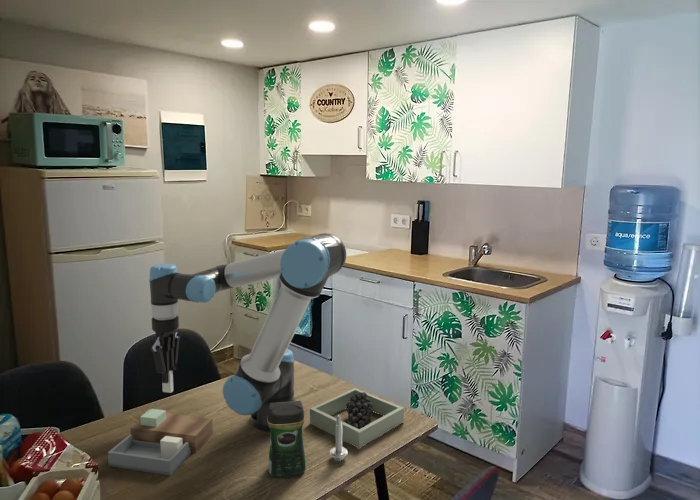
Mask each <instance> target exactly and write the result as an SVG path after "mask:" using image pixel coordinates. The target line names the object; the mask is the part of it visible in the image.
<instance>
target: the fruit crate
mask: <svg viewBox="0 0 700 500" xmlns="http://www.w3.org/2000/svg"><path fill="white" fill-rule="evenodd" d="M359 392H360V393H362V392H365V393H366V394H367V397H368V398H369V399H370V402H371V403H372V404H373V406H372V409H373V411H374V412H376V413H379V414H381V415H384V416H381V415H380V416H381V417H379V418H377V419H375V420H374V421H372V422H370V423H368V424H366V425H364V427H360V429H357V428H355V427H353V426H351V425H349V423H348V422H347V423H346V422H345V421H343V420H341V423H342V441H343V440H344V441H343V442H345V441H346V442H345V443H347V442H348V443H351V444H353V445H355V446H357V447H358V448H360V447H362V446H363V445H365V444H367V443H368V442H370V441H372V440H374V439H375V438H377V437H379V436H380V435H382V434H384V433H385V432H387V431H388V430H390V429H392V428H394V427H396V426H397V425H399V424H400V423H402V422H403V423H404V418H405V417H404V414H405V407H403V406H401V405H397V404H395V403H393V402H390V401H388V400H385V399H384V398H382V397H378V396H376V395H374V394H371V393H368V392H366V391H364V390H361V389H359V388H357V387H354V388H351V389H349V390H347V391H345V392H343V393H341V394H338V395H337V396H334V397H332V398H330V399H328V400H325V401H323V402H321V403H319V404H316V405H315V406H313V407H310V408H309V424H310V425H312V426H314V427H315V426H316V428H317V427H318V429H319V428H320V430H321V429H322V430H321V431H323V430H324V431H323V432H325V431H326V432H325V433H327V432H328V433H327V434H329V433H330V434H329V435H331V434H332V436H333V435H334V436H333V437H334V438H336V422H337V417H334V415H336V414H338V413H340V412H342V411H344V410H346V409H348V408H347V406H346V403H347V402H350V398H351V397H352V396H355V394H356V393H359ZM360 401H361V400H360ZM360 401H359V400H358V402H360ZM345 408H346V409H345ZM343 409H344V410H343ZM341 410H342V411H341ZM339 411H340V412H339ZM337 412H338V413H337ZM374 412H373V413H374ZM335 413H336V414H335ZM376 413H375V414H376ZM333 414H334V415H333ZM379 414H378V415H379ZM331 415H332V416H331ZM399 426H400V425H399ZM396 428H397V427H396ZM394 429H395V428H394ZM392 430H393V429H392ZM387 433H388V432H387ZM384 435H385V434H384ZM382 436H383V435H382ZM379 438H380V437H379ZM377 439H378V438H377ZM375 440H376V439H375ZM375 440H374V441H375ZM372 442H373V441H372ZM348 443H347V444H348ZM370 443H371V442H370ZM367 445H368V444H367ZM365 446H366V445H365ZM358 448H357V449H358ZM362 448H363V447H362ZM360 449H361V448H360Z"/></svg>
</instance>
